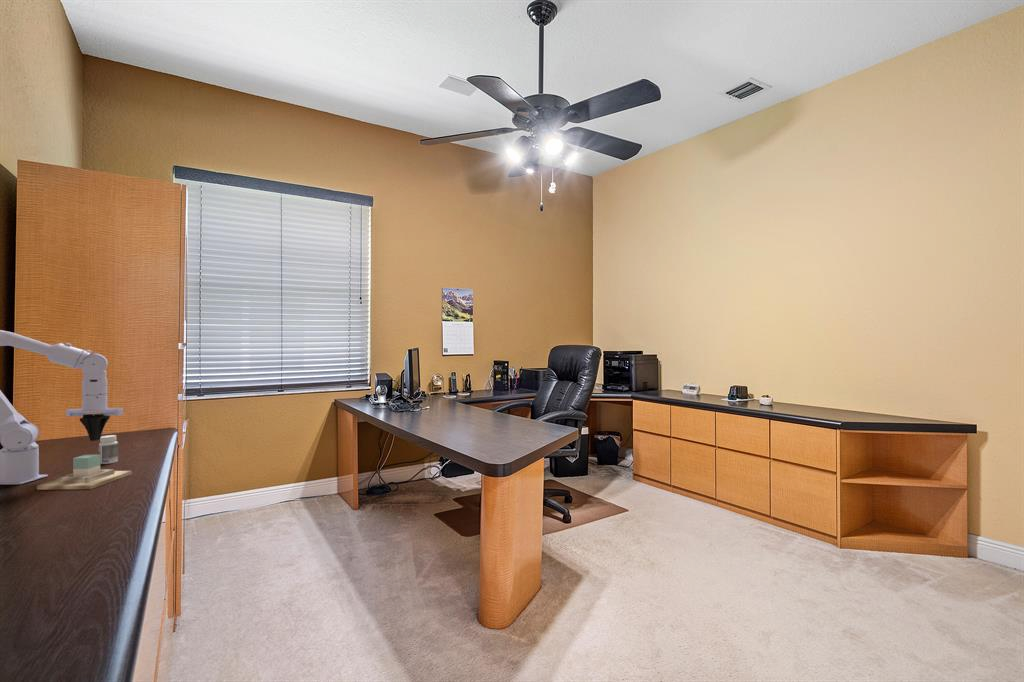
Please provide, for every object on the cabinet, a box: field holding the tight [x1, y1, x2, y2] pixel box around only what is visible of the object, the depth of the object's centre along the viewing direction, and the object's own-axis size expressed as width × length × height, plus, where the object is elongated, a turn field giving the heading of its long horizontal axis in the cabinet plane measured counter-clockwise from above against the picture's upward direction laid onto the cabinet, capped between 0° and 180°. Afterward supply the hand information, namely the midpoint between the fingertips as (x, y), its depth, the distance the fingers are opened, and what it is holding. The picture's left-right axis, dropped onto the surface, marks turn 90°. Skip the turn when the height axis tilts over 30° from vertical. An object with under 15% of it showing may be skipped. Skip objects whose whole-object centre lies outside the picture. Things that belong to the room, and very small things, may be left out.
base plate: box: [36, 468, 133, 491], centre depth 134 cm, size 14×14×2 cm
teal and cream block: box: [72, 453, 101, 477], centre depth 134 cm, size 4×4×6 cm
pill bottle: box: [98, 434, 119, 465], centre depth 155 cm, size 5×5×8 cm
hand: (95, 440), depth 144 cm, fingers closed
